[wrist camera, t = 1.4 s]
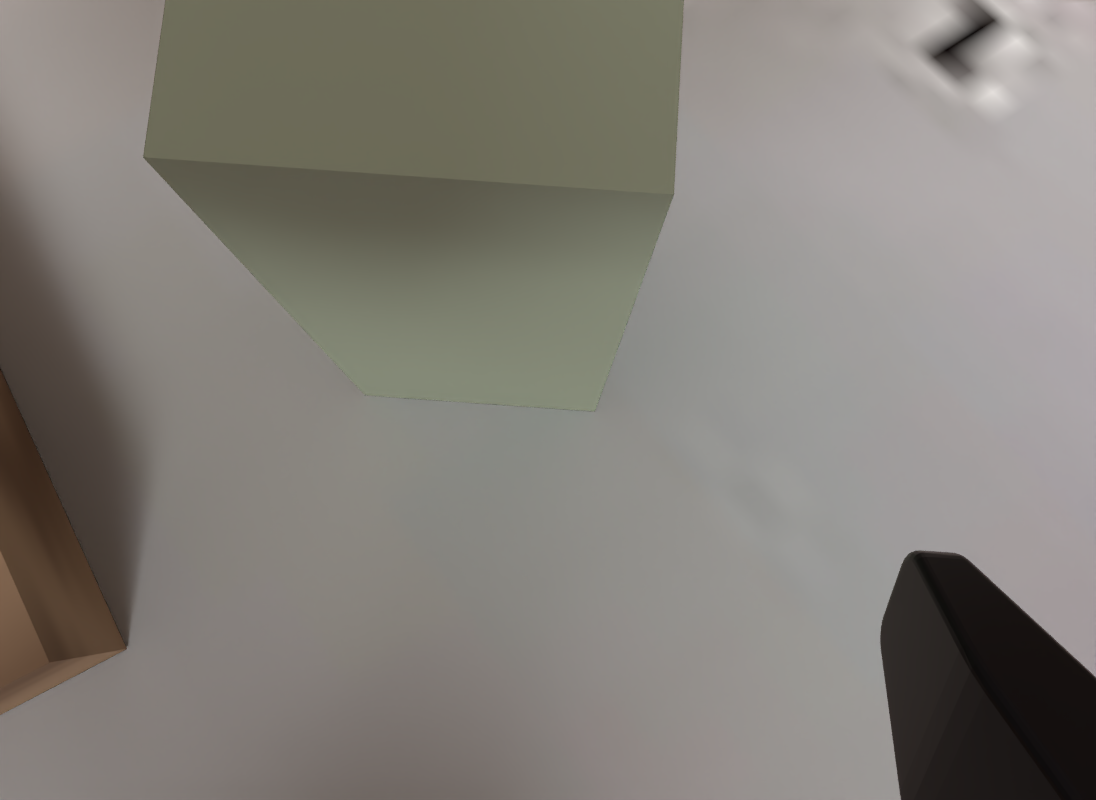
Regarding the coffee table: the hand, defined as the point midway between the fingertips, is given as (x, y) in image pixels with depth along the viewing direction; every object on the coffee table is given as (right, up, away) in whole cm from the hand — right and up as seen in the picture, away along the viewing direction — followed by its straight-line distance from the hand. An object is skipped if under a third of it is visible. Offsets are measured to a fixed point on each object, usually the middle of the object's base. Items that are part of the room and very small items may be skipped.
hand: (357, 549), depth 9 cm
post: (0, +4, +14) cm, 15 cm away
